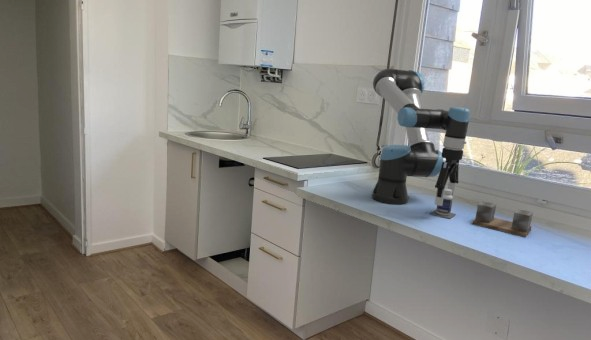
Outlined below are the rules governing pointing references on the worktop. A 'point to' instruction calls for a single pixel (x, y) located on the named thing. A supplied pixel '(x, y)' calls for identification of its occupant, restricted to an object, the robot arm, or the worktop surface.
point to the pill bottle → (445, 203)
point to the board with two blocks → (516, 227)
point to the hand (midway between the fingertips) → (444, 201)
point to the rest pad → (442, 215)
